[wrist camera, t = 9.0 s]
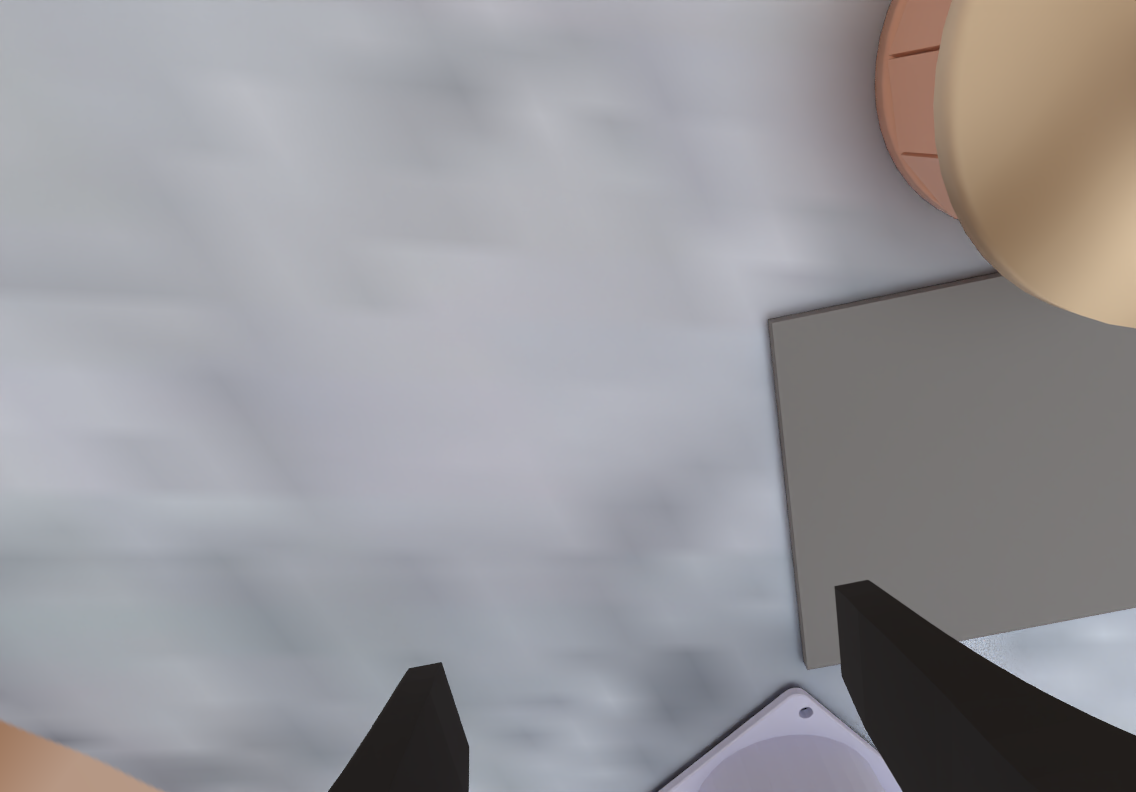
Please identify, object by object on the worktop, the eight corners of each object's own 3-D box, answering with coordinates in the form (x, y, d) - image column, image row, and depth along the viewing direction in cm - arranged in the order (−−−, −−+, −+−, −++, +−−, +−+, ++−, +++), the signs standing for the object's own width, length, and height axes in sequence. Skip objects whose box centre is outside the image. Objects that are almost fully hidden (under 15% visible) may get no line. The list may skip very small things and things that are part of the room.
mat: (1248, 577, 26) (1259, 583, 25) (803, 662, 26) (807, 670, 26) (1307, 209, 21) (1321, 211, 21) (768, 319, 22) (772, 323, 21)
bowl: (1270, 51, 20) (1498, 29, 15) (997, 290, 22) (1124, 336, 17) (1095, -237, 17) (1304, -372, 13) (806, 62, 19) (894, 42, 15)
